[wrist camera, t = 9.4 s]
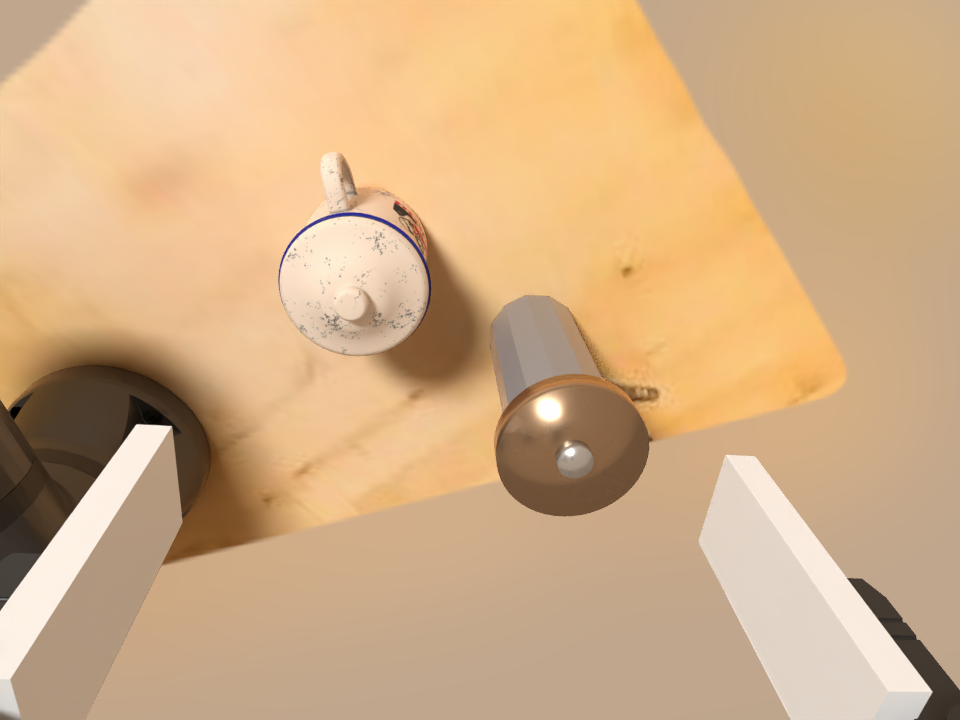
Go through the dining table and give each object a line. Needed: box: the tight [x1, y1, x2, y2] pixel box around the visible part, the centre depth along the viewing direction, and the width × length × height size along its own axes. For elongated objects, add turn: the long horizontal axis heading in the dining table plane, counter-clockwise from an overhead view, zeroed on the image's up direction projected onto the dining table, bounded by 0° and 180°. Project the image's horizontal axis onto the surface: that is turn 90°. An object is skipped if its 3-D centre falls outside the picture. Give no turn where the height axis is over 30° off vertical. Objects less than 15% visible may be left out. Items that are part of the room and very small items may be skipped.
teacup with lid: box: [279, 152, 431, 356], centre depth 43 cm, size 12×9×12 cm
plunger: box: [494, 374, 649, 516], centre depth 44 cm, size 9×9×14 cm
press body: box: [490, 295, 602, 412], centre depth 47 cm, size 7×9×14 cm
